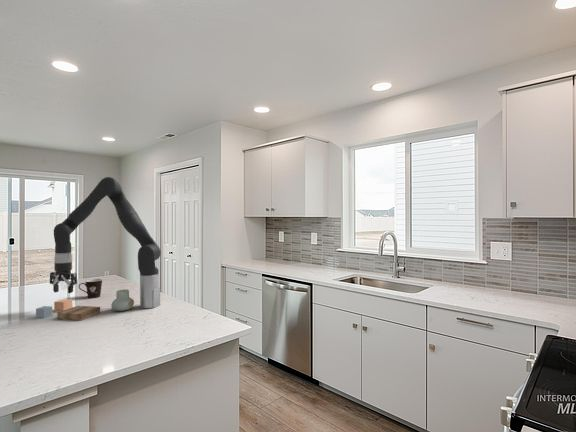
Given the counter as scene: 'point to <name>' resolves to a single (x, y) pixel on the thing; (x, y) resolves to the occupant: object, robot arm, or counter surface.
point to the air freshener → (122, 301)
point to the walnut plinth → (78, 313)
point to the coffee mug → (93, 288)
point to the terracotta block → (62, 305)
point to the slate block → (44, 312)
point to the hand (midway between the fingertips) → (63, 292)
